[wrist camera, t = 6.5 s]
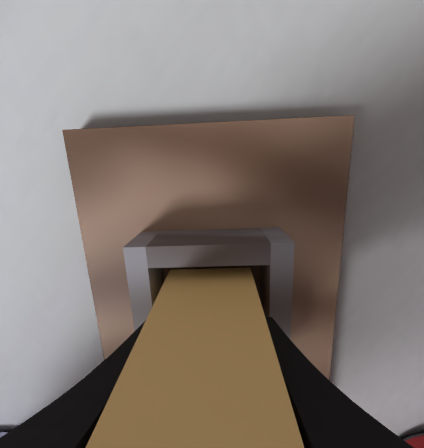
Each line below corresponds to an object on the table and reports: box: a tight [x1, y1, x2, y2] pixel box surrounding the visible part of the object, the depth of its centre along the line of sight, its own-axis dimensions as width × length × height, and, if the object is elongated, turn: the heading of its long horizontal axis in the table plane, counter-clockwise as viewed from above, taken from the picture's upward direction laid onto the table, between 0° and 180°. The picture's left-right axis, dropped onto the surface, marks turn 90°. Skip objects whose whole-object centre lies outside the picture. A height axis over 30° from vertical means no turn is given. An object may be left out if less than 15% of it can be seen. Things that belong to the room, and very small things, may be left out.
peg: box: [86, 267, 304, 448], centre depth 8 cm, size 4×4×8 cm
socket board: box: [63, 115, 355, 380], centre depth 13 cm, size 18×14×4 cm
